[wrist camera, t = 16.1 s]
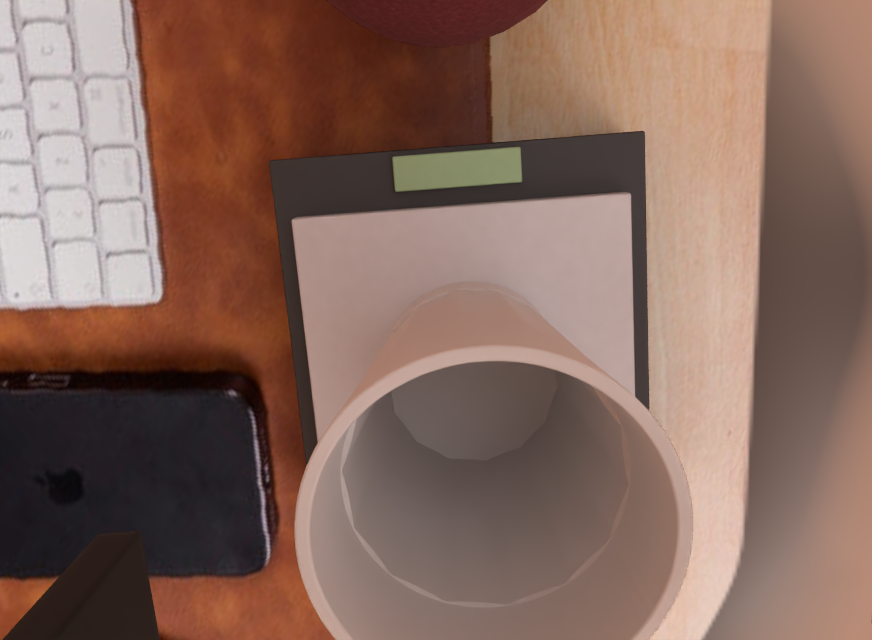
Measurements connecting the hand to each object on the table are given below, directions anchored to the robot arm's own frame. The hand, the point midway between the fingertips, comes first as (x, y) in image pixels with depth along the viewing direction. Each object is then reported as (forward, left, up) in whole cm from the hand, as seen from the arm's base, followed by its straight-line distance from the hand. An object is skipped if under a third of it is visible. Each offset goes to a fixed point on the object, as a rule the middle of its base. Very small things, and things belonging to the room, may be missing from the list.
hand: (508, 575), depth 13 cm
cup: (0, 0, -14) cm, 14 cm away
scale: (0, -1, -17) cm, 17 cm away
